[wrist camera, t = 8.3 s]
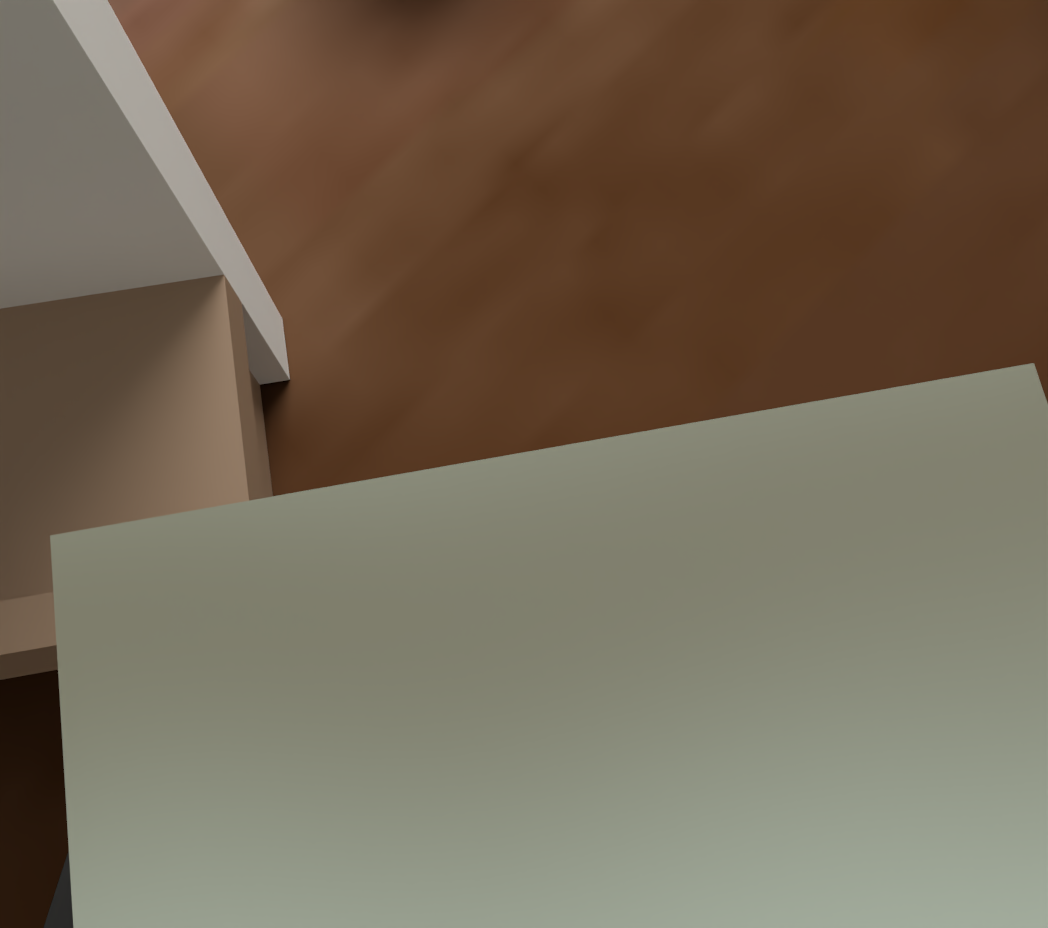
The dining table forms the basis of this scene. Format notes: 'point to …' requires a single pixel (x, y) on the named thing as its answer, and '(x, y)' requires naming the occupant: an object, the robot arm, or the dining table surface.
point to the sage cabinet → (584, 684)
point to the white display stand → (111, 312)
